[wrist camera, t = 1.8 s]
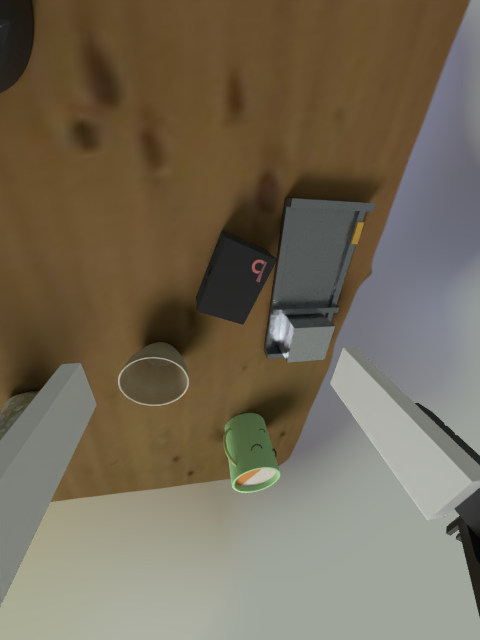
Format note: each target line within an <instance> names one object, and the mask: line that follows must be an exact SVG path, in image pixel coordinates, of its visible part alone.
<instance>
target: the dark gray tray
mask: <svg viewBox="0 0 480 640" xmlns="http://www.w3.org/2000/svg"><path fill="white" fill-rule="evenodd" d="M375 206H376V203H365V202H349V201H332V200H316V199H300V198H285V203H284V210H283V217H282V224H281V231H280V238H279V245H278V252H277V261H276V266H275V273H274V280H273V287H272V295H271V302H270V309H269V316H268V323H267V330H266V337H265V344H264V352H265V355H266V357H267V359H270V358H283V357H284V358H285V359H286V361H287V362H299V361H311V360H323V359H324V358H325V355H326V353H327V349H328V346H329V343H330V340H331V337H332V334H333V331H334V328H335V326H334V325H333V324H332V323H331V320H332V317H333V314H334V313H338V311H339V308H340V307H338V306H337V301H338V298H339V295H340V292H341V289H342V286H343V282H344V279H345V276H346V273H347V270H348V267H349V263H350V260H351V257H352V254H353V251H354V248H355V244H358V241H359V238H360V235H361V231H362V228H363V225H364V222H363V219H364V216H365V213H366V211H368V212H374V209H375Z"/></svg>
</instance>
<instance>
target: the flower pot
mask: <svg viewBox="0 0 480 640" xmlns="http://www.w3.org/2000/svg"><path fill="white" fill-rule="evenodd" d="M118 385H119V388H120V390H121V392H122V393H123V394H124V395H125V396H126V397H127V398H129V399H130V400H132V401H134V402H137V403H139V404H143V405H150V406H159V405H165V404H169V403H172V402H174V401H176V400H178V399H179V398H180V397H182V396H183V395H184V394H185V392H186V391H187V389H188V386H189V376H188V371H187V367H186V364H185V362H184V360H183V358H182V356H181V355H180V353H179V352H178V351H177V350H176V349H175V348H174V347H173V346H171V345H170V344H168V343H164V342H157V343H153V344H150V345H148V346H146V347H144V348H142V349H141V350H140V351H138V352H137V353H136V354H135V355H134V356H132V358H131V359H130V360H129V361H128V362H127V363H126V365H125V366H124V367H123V369H122V371H121V372H120V374H119V377H118Z"/></svg>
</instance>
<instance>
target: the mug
mask: <svg viewBox="0 0 480 640" xmlns="http://www.w3.org/2000/svg"><path fill="white" fill-rule="evenodd" d="M226 443H227V445H226ZM223 445H224V449H225V452H226V455H227V457H228V459H229V467H230V475H231V483H232V488H233V489H234V490H235V491H237V492H242V493H250V492H256V491H260V490H263V489H265V488H267V487H269V486H271V485H273V484H274V483H275V482H276V481H277V480H278V479H279V477H280V471H279V468H278V464H277V461H276V458H275V457H276V455H275V454H276V451H275V449H273V448H272V444H271V441H270V438H269V434H268V431H267V428H266V424H265V421H264V419H263V417H262V416H260V415H259V414H255V413H244V414H240V415H238V416H235V417H233V418H232V419H231V420H229V421H228V422H227V424H226V426H225V433H224V436H223ZM273 450H274V451H275V454H274V451H273Z"/></svg>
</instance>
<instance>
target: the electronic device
mask: <svg viewBox="0 0 480 640" xmlns="http://www.w3.org/2000/svg"><path fill="white" fill-rule="evenodd" d="M276 261H277V259H276V258H275V257H274V256H272V255H271V254H270V253H269V252H268V251H266V250H264V249H262V248H260V247H258V246H255V245H253V244H251V243H250V244H249V243H247V242H245V241H243V240H242V239H240V238H238V237H236V236H233V235H231V234H229V233H227V232H225V231H221V234H220V236H219V239H218V242H217V244H216V247H215V249H214V252H213V255H212V257H211V260H210V263H209V265H208V268H207V270H206V273H205V276H204V278H203V281H202V283H201V286H200V289H199V291H198V294H197V296H196V306H197V311H199V312H202V313H205V314H209V315H212V316H215V317H219V318H222V319H225V320H229V321H232V322H236V323H239V324H244V322H245V320H246V319H247V317H248V315H249V313H250V311H251V309H252V307H253V305H254V303H255V301H256V299H257V297H258V295H259V293H260V291H261V290H262V288H263V286H264V284H265V282H266V280H267V278H268V276H269V274H270V272H271V270H272V268H273V266H274V264H275V262H276Z"/></svg>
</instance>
